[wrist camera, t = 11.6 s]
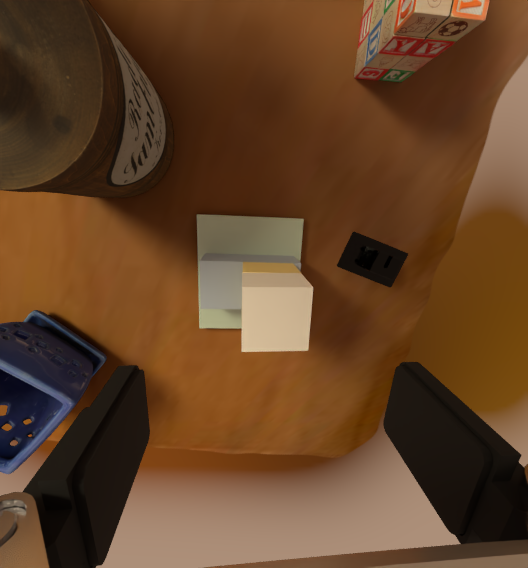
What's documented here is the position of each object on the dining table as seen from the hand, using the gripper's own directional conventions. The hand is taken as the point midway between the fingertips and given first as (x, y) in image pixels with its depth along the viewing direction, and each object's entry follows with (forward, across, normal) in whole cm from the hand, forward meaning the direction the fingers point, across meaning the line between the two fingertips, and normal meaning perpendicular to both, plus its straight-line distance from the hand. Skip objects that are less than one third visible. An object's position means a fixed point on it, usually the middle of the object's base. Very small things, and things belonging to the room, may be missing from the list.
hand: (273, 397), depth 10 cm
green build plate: (+29, 0, +3) cm, 29 cm away
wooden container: (+30, +17, -14) cm, 37 cm away
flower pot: (+30, +27, +16) cm, 44 cm away
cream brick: (+18, -2, +3) cm, 18 cm away
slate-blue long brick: (+28, 0, +3) cm, 28 cm away
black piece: (+30, -18, +1) cm, 35 cm away
